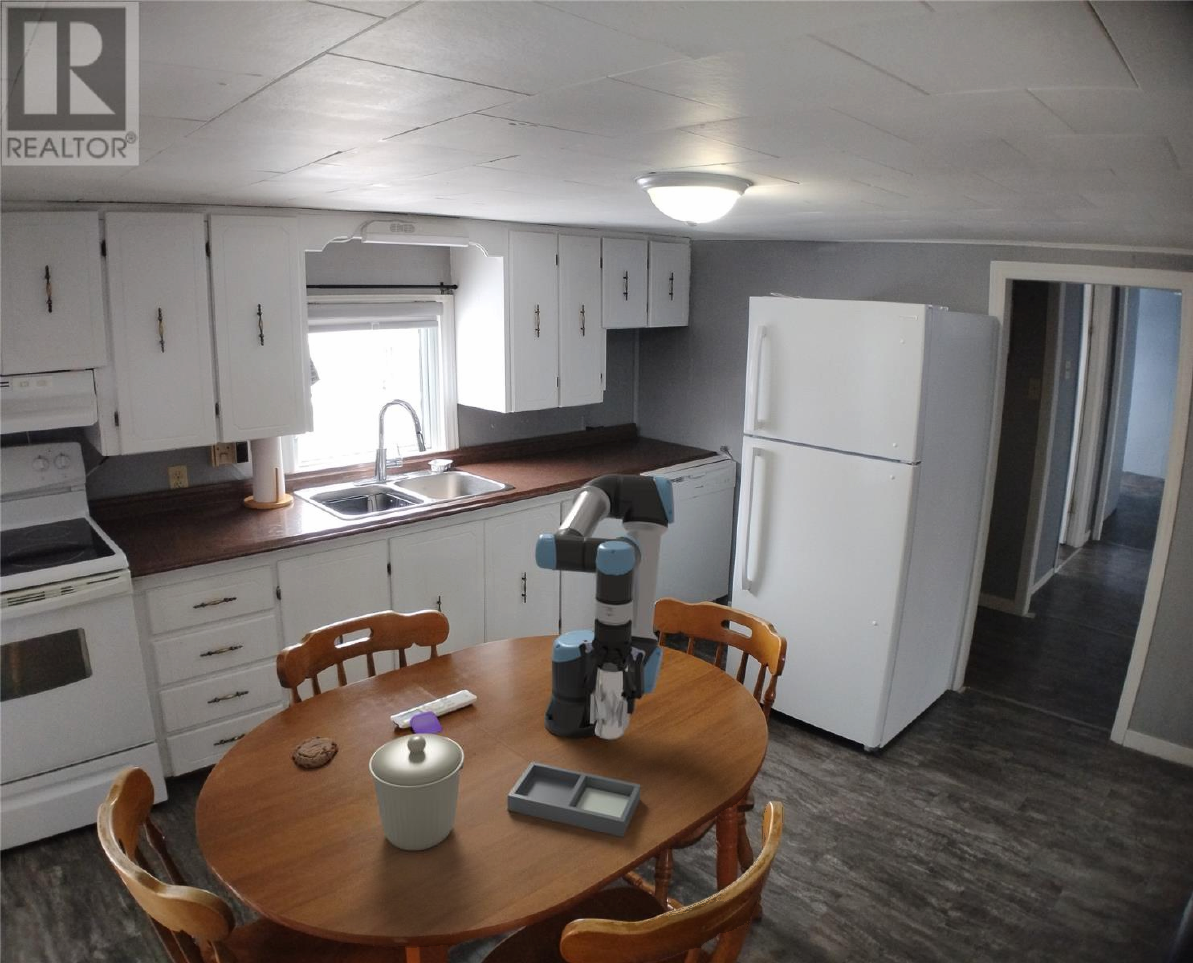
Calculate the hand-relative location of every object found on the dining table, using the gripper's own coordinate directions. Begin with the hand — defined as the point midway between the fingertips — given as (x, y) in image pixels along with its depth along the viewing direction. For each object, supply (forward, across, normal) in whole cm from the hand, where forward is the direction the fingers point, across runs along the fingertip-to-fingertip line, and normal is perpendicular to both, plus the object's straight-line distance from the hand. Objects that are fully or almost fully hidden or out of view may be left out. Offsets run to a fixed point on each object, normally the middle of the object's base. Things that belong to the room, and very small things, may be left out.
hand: (609, 723), depth 167 cm
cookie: (+19, -68, -6) cm, 71 cm away
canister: (+19, -32, -22) cm, 43 cm away
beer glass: (+2, 0, 0) cm, 2 cm away
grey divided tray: (+19, -6, -3) cm, 20 cm away
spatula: (+19, -44, +8) cm, 49 cm away
